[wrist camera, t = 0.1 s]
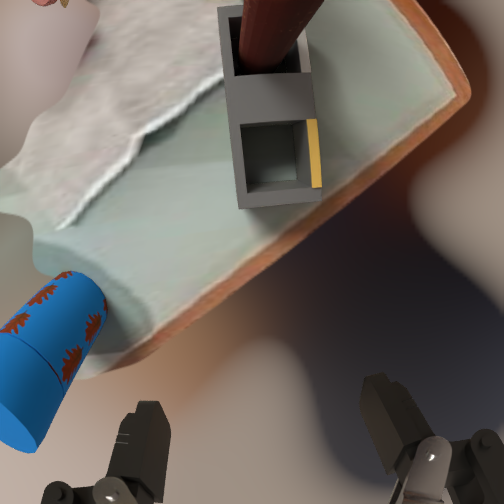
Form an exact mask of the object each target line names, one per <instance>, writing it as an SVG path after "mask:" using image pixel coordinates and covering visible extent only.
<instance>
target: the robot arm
mask: <svg viewBox="0 0 504 504" xmlns="http://www.w3.org/2000/svg"><path fill="white" fill-rule="evenodd" d="M359 405H360V412H361V414H362V417H363V419H364V421H365V424H366V426H367V428H368V431H369V433H370V436H371V438H372V440H373V443H374V445H375V447H376V450H377V452H378V454H379V457H380V459H381V462H382V464H383V466H384V469H385V471H386V474H387V475H390V474H392V473H395V472H396V473H397V476H398V479H397V482H396V484H395V487H394V490H393V492H392V494H391V497H390V499H389V502H388V504H444V501H442V499H441V498H442V494H443V490H444V488H447V490H448V492H449V495H450V497H451V500H452V502H453V504H504V444H503V443H502V441H501V439H500V438H499V436H498V435H497V433H495V432H494V431H492V430H490V429H481V430H479V431H477V432H476V433H475V434H474V435H473V436H472V438H471V439H467V440H461V441H454V442H448V441H447V440H446V439H444V438H442V437H438V436H436V435H435V434H434V433H433V432H432V430H431V428H430V426H429V425H428V423H427V421H426V420H425V418H424V416H423V414H422V413H421V411H420V410H419V408H418V407H417V405H416V403H415V401H414V400H413V399H412V396H411V395H410V393H409V392H408V390H407V388H405V387H404V386H403V385H401V384H400V383H399V382H397V381H395V382H392V383H391V382H390V381H389V379H388V377H387V376H386V374H385V373H383V372H381V373H377V374H374V375H370V376H366V377H365V378H364V382H363V387H362V392H361V396H360V401H359ZM170 438H171V429H170V424H169V422H168V420H167V418H166V415H165V414H164V411H163V409H162V407H161V405H160V403H159V401H139V402H138V405H137V408H136V412H135V413H128V414H127V416H126V417H125V418H124V419H123V421H122V422H121V424H120V428H119V431H118V435H117V438H116V443H115V445H114V449H113V452H112V456H111V460H110V464H109V468H108V471H107V474H106V476H105V478H102V479H100V480H99V481H97V482H96V484H95V485H94V486H89V487H80V488H79V487H78V488H71V487H70V486H69V485H68V484H66V483H64V482H61V481H55V482H52V483H50V484H49V485H48V486H47V487H46V488H45V490H44V494H43V497H42V501H41V504H154V502H158V503H163V496H164V486H165V478H166V470H167V462H168V454H169V446H170Z"/></svg>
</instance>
